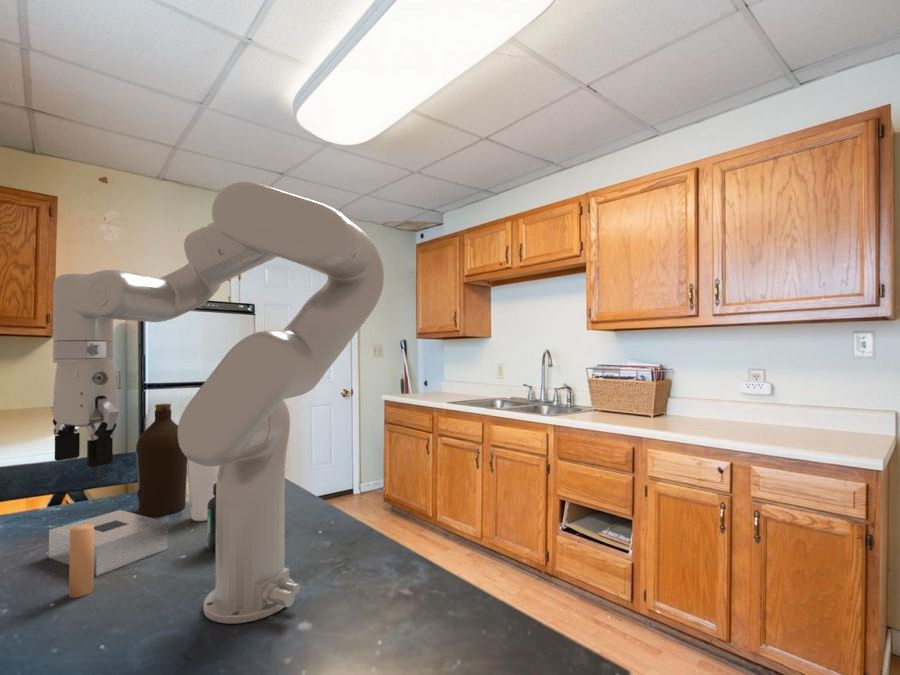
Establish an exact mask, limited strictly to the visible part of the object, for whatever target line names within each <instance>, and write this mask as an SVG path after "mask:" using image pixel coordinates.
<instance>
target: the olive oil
mask: <svg viewBox="0 0 900 675" xmlns="http://www.w3.org/2000/svg"><path fill="white" fill-rule="evenodd" d="M154 406H155V410H154V421H153V422H152V423H151V424H150V426H148V427H147V428H146V429H145V430H144V432H142V434H140V436H139V438H138V439H137V443H136V446H135V447H136V448H135V454H136V457H135V458H136V474H137V476H136V477H137V499H138V515H142V516H145V517H149V518H152V517H161V516H163V517H164V516H167V515H171V514H175V513H178V512H181V511H182V510H184V509H185V508H186V503H187V502H186V495H187V494H186V493H187V478H188V458H187V457H186V456H185V455H184V453H183V452H182V450H181V448H180V446H179V443H178V436H177V434H178V425H179V424H177V423H175V422H174V421H173V419H172V409H171V406H172V404H171V403H157V404H155V405H154Z"/></svg>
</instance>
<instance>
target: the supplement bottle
mask: <svg viewBox="0 0 900 675" xmlns="http://www.w3.org/2000/svg"><path fill="white" fill-rule="evenodd" d="M213 495H214V497H213V498H212V499H211V500H210V501H209V502H208V505H207V520H206V522H207V523H206V524H207V526H206V528H207V530H206V533H207V537H206V541H207V542H206V543H207V546H206V547H207V550H209V551H210V552H212V553H216V483H215V484H214V485H213Z"/></svg>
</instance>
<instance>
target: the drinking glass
mask: <svg viewBox="0 0 900 675" xmlns="http://www.w3.org/2000/svg"><path fill="white" fill-rule="evenodd" d="M218 470H219V466H203V465H199V464H196V463H194V462H192V461H191V460H189V459H188V460H187V479H188V489H189V490H188V491H189V500H190V501H189V502H190V517H191V520H192V521H194V522H207V505H208V502H209V501H210V500H211V499H212V498H213V497H214V495H213V485H214V484H215V483H217V475H218Z"/></svg>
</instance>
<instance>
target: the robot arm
mask: <svg viewBox="0 0 900 675" xmlns="http://www.w3.org/2000/svg"><path fill="white" fill-rule="evenodd" d="M211 216H212V222H210V223H209V224H206V225H204V226H202V227H200V228H198V229H196V230H194V231H191V232H190V233H188V234H187V236H186V237H185V238H184V242H183V248H184V253H185V256H186V259H187V262H188V263H186V264H185V265H184V266H182V267H180V268H179V269H177V270H174V271H173V272H170V273H167V274H166V275H163V276H161V277H155V276H149V275H145V274H141V273H135V272H129V271H124V270H119V269H104V270H100V271H96V272H91V273H64V274H60V275H58V276H57V277H55V279H54V282H53V289H52V290H53V293H52V296H53V298H52V299H53V300H52V301H53V302H52V303H53V304H52V305H53V309H52V311H53V312H52V313H53V314H52V315H53V316H52V318H53V319H52V327H53V328H52V330H53V331H52V341H53V342H52V363H53V364H54V363H55V364H56V370H55V376H54V387H53V405H52V406H51V412H52V416H53V419H52V424H53V426H54V429H53V435H54V460H55V461H57V462H60V461H66V460H72V459H77V458H79V457H80V454H81V453H80V452H81V451H80V450H81V449H80V445H81V444H80V443H81V442H80V440H81V438H80V437H81V434H80V432H77V431H78V430H79V428H86V431H87V433H88V436H89V438H90V439H89V440H86V442H87V443H86V444H87V446H86V447H87V449H86V451H87V452H86V460H87V461H86V462H87V466H86V467H88V468H94V467H100V466H103V465H109V464H111V463H113V458H114V456H113V453H114V452H113V448H114V446H113V443H114V442H113V438H114V437H115V430H116V428H117V424H116V422H117V421H118V419H119V418H118V417H119V405H118V404H119V402H118V400H119V399H118V387H117V378H116V370H115V367H114V362H113V361H114V357H113V356H114V320H119V321H133V322H135V321H136V322H146V323H147V322H149V323H160V322H162V323H163V322H166V321H167V322H168V321H170V320H173V319H176V318H177V317H180V316H183V315H185V314H186V313H188V312H191V311H193V310H195V309H197V308H199V307H202V305H204V304H205V303H207V302H208V301H209V300H210V299H212V297H213V296H214V295H215V294H216V293H217V292H218V290H220V287H221V286H222V284H224V283H225V282H227V281H230V280H231V279H234V278H236V277H238V276H240V275H242V274H244V273H246V272H248V271H251V270H252V269H254V268H256V267H259V266H260V265H263V264H265V263H268V262H269V261H271V260H273V259H275V258H278V257H279V258H282V259H283V260H284V259H285V260H287V261H290V262H292V263H296V264H298V265H301V266H304V267H306V268H310V269H311V270H313V271H317V272H319V273H321V274H323V275H326V276H327V281H326V282H325V284H324V285H323V286H322V287H321V288H320V289H319V290H318V291H316V292H315V293H314V294H312V295H311V296H310V297H309V298H308V300H307V301H306V302H305V303H304V304H303V306H302V307H301V309H300V310H299V311H298V313H297V314H296V315H295V316H294V317H293V318H292V320H291V321H290V322H289V323H288V324H287V326H285V327H284V328H283V329H282V330H263V331H257V332H254V333H252V334H249V335H247V336H245V337H244V338H242V339H241V340H239V341H238V342H237V343H236V344H235V345H233V347H232V348H230V349H229V350H228V352H227V353H226V354H225V356H224V357H223V358H222V359H221V360H220V362H219V363H218V365H217V366H216V367H215V369H214V370H213V371H212V372H211V374H210V375H209V376H208V377H207V379H206V380H205V381H204V382H203V383H202V385H201V387H200V388H199V389H198V390H197V391H196V393H195V394H194V396H193V397H192V398H191V399H190V401H189V402H188V404H187V405H186V407H185V408H184V411H183V412H182V414H181V416H180V417H179V418H180V419H179V422H178V424H177V425H178V434H177V436H178V443H179V446H180V448H181V450H182V452H183V453H184V455H185V456H186V457H187V458H188V459H189V460H191V461H192V462H194V463H196V464H199V465H203V466H219V470H218V475H217V483H216V552H215V588H214V589H212V590H211V592H209V593H208V594H207V596H205V599H204V601H203V614H204V615H205V616H206V617H205V618H207V619H209V620H211V621H213V622H217V623H219V624H227V625H229V624H231V625H232V624H244V623H245V624H246V623H249V622H253V621H258V620H261V619H264V618H267V617H270V616H272V615H273V614H276V613H277V612H280V611H282V609H284V608H289V607H291V606H293V604H294V602H295V600H296V595H298V594H299V593H300V591H301V588H302V587H301V584H299V583H297V582H295V581H294V580H293V579H292V578H290V568H288V567H285V566H286V565H285V559H286V558H285V556H286V555H285V554H286V552H285V544H286V543H285V542H286V540H285V539H286V538H285V536H286V535H285V534H286V533H285V532H286V530H285V522H286V521H285V518H286V517H285V513H286V512H285V492H286V491H285V490H286V488H285V487H286V460H287V459H286V458H287V451H288V450H287V449H288V444H289V438H290V429H291V416H290V412H289V408H288V405H287V404H286V401H285V400H287V399H290V398H294V397H298V396H303V395H306V394H307V393H309V392H310V391H312V390H313V389H314V388H316V386H317V385H318V384H319V383H320V381H321V380H322V379H323V377H324V376H325V374H326V373H327V372H328V370H329V369H330V368H331V366H332V365H333V363H335V362H336V360H337V358H338V357H339V356H340V355H341V353H342V352H343V351H344V350H345V348H346V347H347V345H348V344H349V343H350V342H351V340H352V338H354V336H355V335H356V333H357V332H358V331H359V330H360V328H361V327H362V326H363V325H364V324H365V322H366V321H367V319H368V318H369V317H370V315H371V314H372V313H373V311H374V309H375V308H376V306H377V304H378V302H379V300H380V299H381V298H380V297H381V296H382V291H383V288H384V283H385V282H384V281H385V272H384V271H385V270H384V266H383V261H382V259H381V258H382V257H381V255H380V253H379V251H378V249H377V247H376V246H375V244H374V242H373V240H372V239H371V238H370V237H369V236H368V235H367V234H366V232H365V231H363V230H362V229H361V228H360V227H359V226H357V224H355V223H353V222H352V221H351V220H350V219H349V218H348V217H346V216H345V215H344V214H343V213H342V212H340V211H339V210H336V209H335V208H333V207H331V206H329V205H326V204H325V203H322V202H318V201H315V200H312V199H309V198H305V197H302V196H299V195H297V194H293V193H289V192H286V191H282V190H281V189H277V188H274V187H271V186H267V185H265V184H263V183H262V184H261V183H259V182H256V181H255V182H254V181H246V180H245V181H239V182H234V183H231V184H228V185H227V186H226V187H224V188H222V189H221V190H220V192H219V193H218V194H217V195H216V196H215V198H214V200H213V203H212V206H211ZM96 427H97V428H96Z"/></svg>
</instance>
